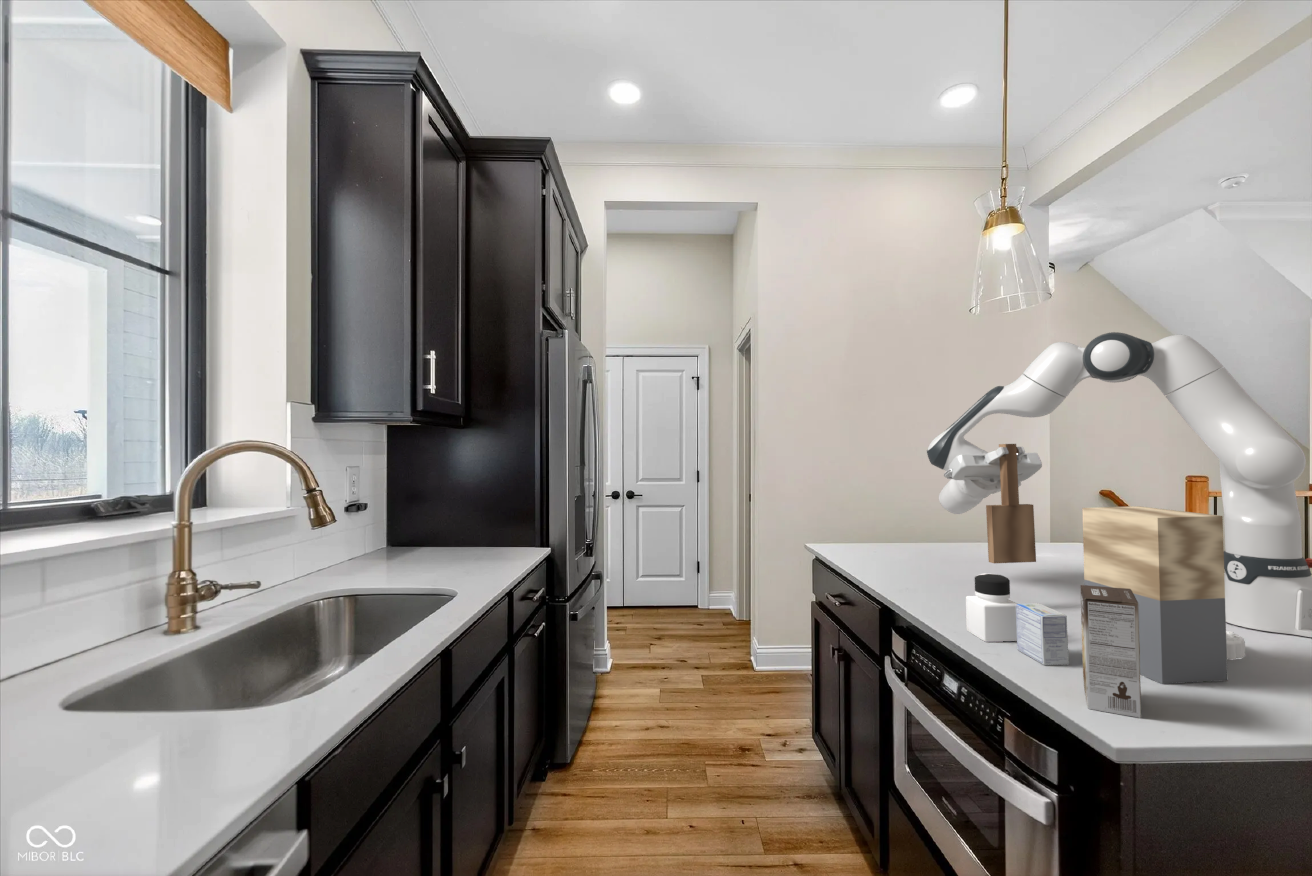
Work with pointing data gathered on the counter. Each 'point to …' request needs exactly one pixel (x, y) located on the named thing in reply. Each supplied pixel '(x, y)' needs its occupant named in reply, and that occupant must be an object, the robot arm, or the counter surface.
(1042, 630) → the medicine box
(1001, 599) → the medicine bottle
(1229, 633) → the mooncake
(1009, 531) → the walnut board
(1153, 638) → the tower base block
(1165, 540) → the tower top block
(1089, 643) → the coffee box
